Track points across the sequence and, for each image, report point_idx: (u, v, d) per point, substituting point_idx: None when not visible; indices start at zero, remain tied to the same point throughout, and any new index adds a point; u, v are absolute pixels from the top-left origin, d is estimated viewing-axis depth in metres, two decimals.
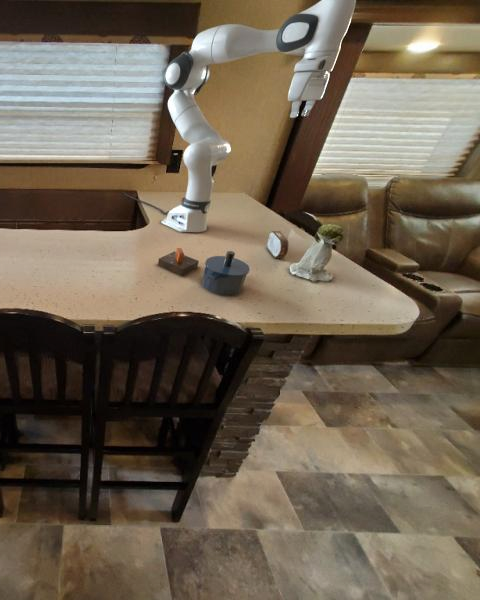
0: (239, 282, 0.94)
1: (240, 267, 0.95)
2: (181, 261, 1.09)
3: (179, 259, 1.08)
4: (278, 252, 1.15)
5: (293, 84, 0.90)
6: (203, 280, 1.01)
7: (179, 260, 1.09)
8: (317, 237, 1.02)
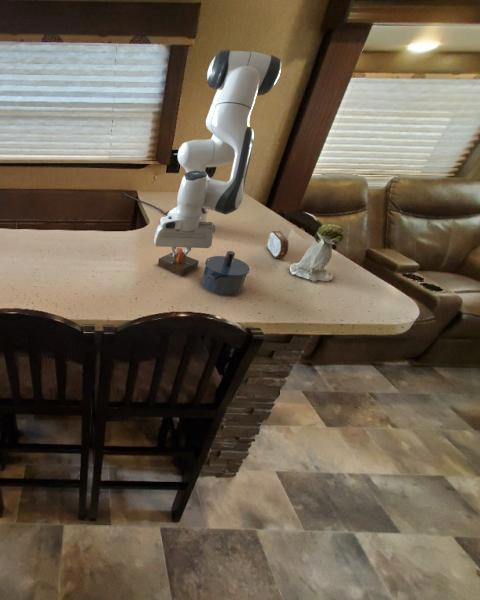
0: (239, 282, 0.94)
1: (240, 267, 0.95)
2: (181, 261, 1.09)
3: (179, 259, 1.08)
4: (278, 252, 1.15)
5: None
6: (203, 280, 1.01)
7: (179, 260, 1.09)
8: (317, 237, 1.02)
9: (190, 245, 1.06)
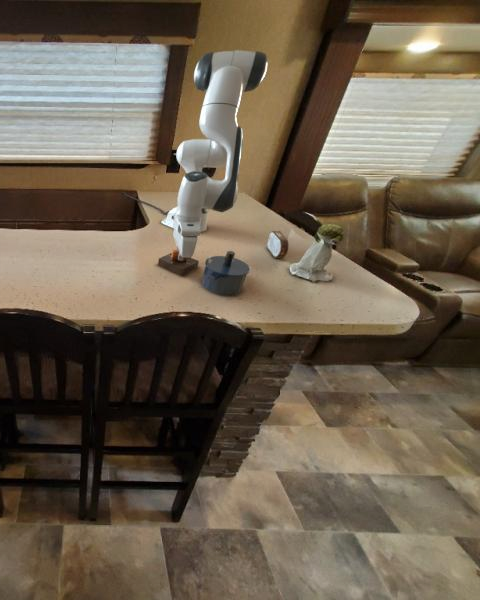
0: (239, 282, 0.94)
1: (240, 267, 0.95)
2: None
3: None
4: (278, 252, 1.15)
5: (185, 246, 0.98)
6: (203, 280, 1.01)
7: None
8: (317, 237, 1.02)
9: None
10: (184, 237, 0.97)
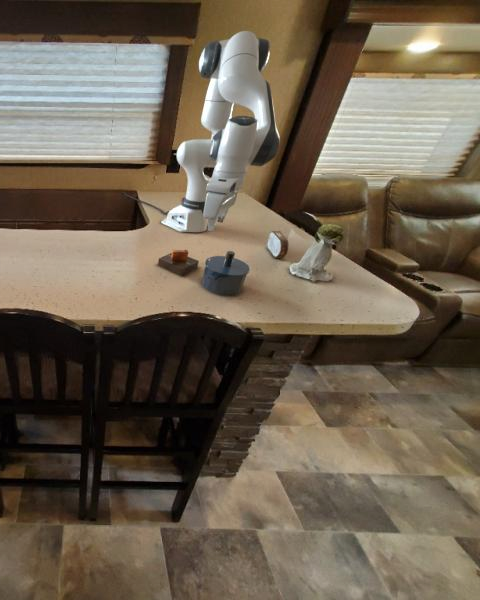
0: (239, 282, 0.94)
1: (240, 267, 0.95)
2: None
3: None
4: (278, 252, 1.15)
5: (207, 204, 0.84)
6: (203, 280, 1.01)
7: None
8: (317, 237, 1.02)
9: (228, 207, 0.92)
10: (209, 193, 0.84)
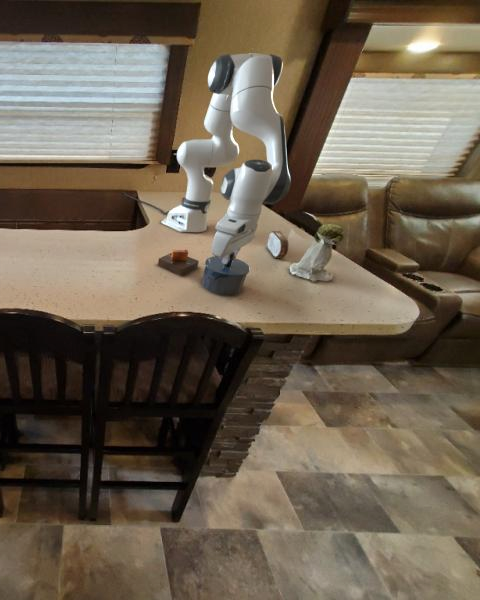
0: (239, 282, 0.94)
1: (240, 267, 0.95)
2: None
3: None
4: (278, 252, 1.15)
5: (215, 242, 0.87)
6: (203, 280, 1.01)
7: None
8: (317, 237, 1.02)
9: (243, 244, 0.93)
10: (218, 232, 0.86)
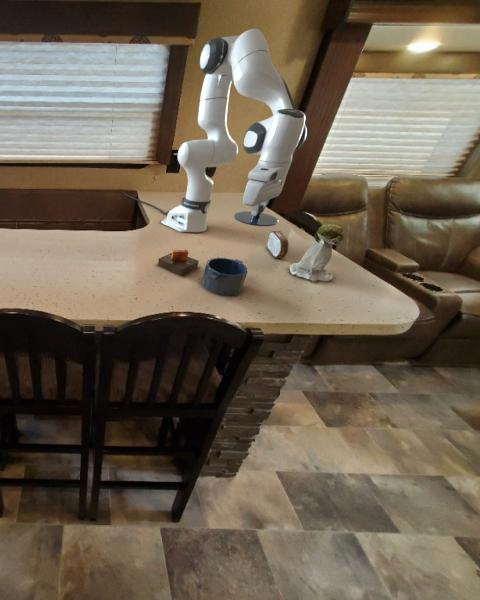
0: (239, 282, 0.94)
1: (268, 219, 0.99)
2: None
3: None
4: (278, 252, 1.15)
5: (247, 191, 0.91)
6: (203, 280, 1.01)
7: None
8: (317, 237, 1.02)
9: (271, 196, 0.97)
10: (250, 181, 0.90)
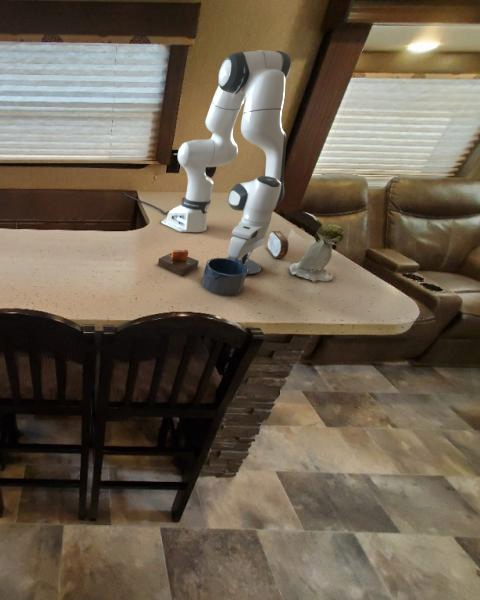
0: (239, 282, 0.94)
1: (252, 266, 1.10)
2: None
3: None
4: (278, 252, 1.15)
5: (231, 246, 1.02)
6: (203, 280, 1.01)
7: None
8: (317, 237, 1.02)
9: (254, 247, 1.08)
10: (234, 237, 1.01)
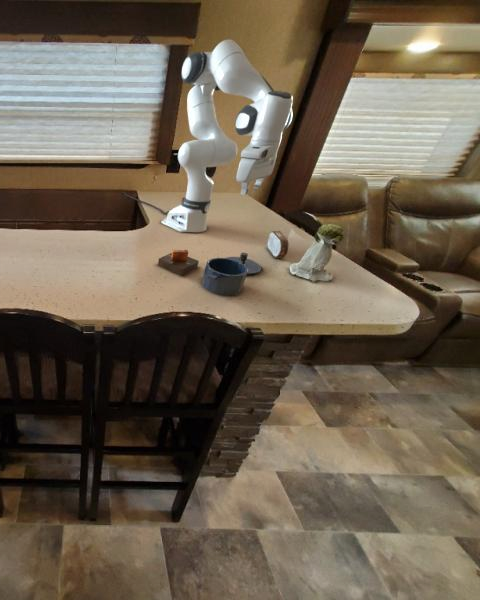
0: (239, 282, 0.94)
1: (252, 266, 1.10)
2: None
3: None
4: (278, 252, 1.15)
5: (240, 168, 0.98)
6: (203, 280, 1.01)
7: None
8: (317, 237, 1.02)
9: (263, 175, 1.04)
10: (243, 159, 0.97)
